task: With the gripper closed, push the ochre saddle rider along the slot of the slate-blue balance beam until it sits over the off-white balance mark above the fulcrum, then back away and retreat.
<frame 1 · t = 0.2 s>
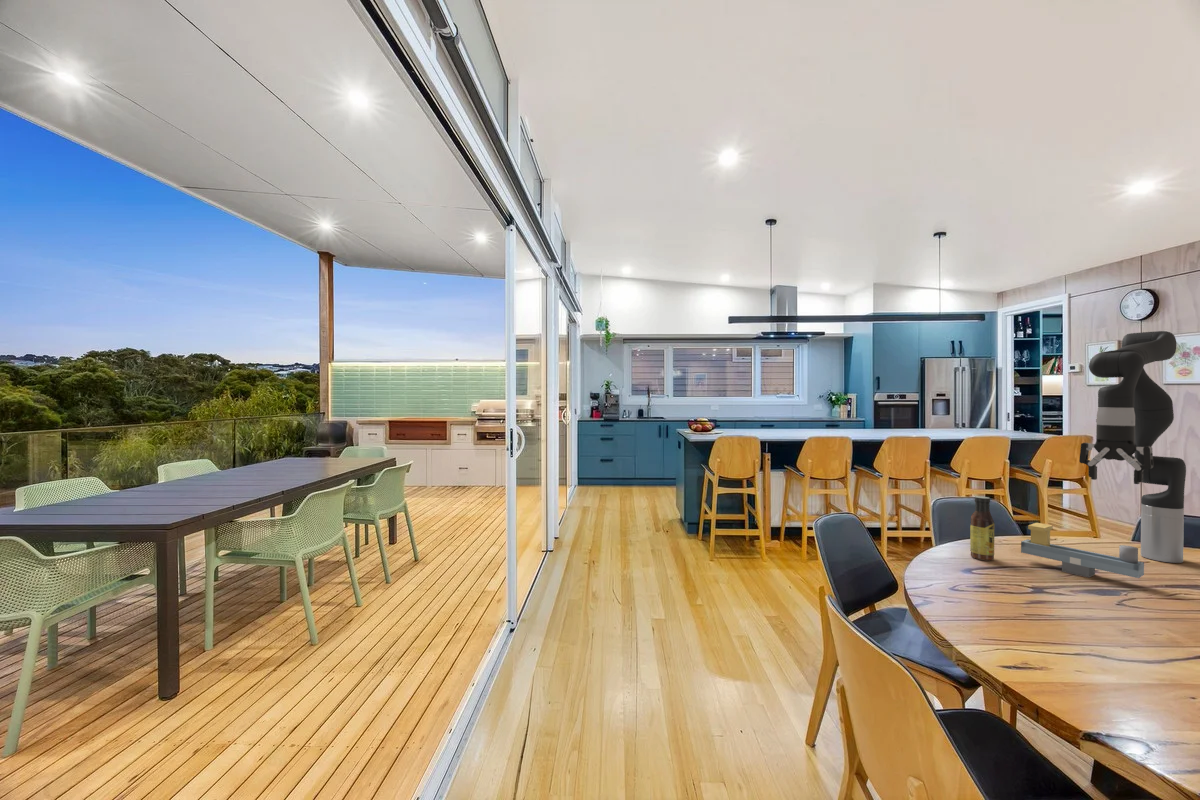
hand: (1114, 481, 140), 29 cm above the table, fingers open, 8 cm apart
sauce bottle: (982, 558, 162), on the table
beam: (1078, 572, 149), on the table
rider: (1040, 536, 157), point 9 cm above the table, slide at 0.0 cm
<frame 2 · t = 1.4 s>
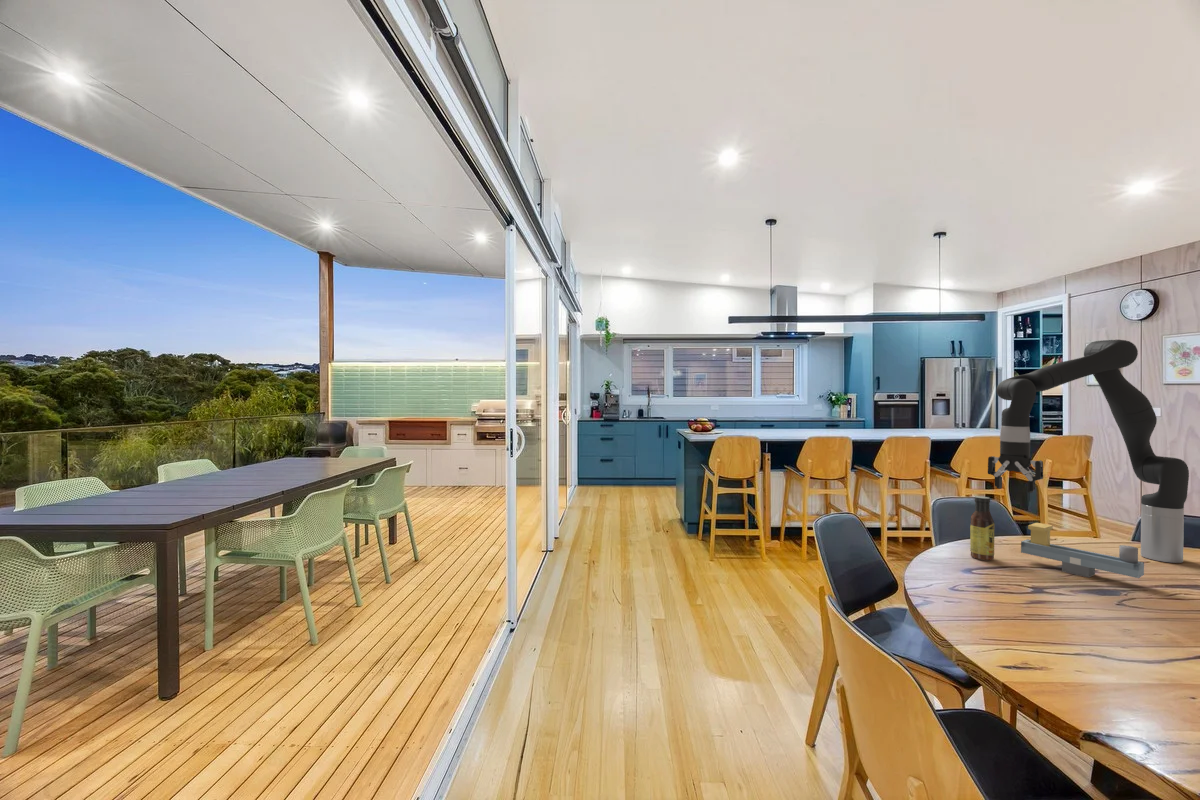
hand: (1014, 490, 162), 22 cm above the table, fingers open, 7 cm apart
nothing on the table moved.
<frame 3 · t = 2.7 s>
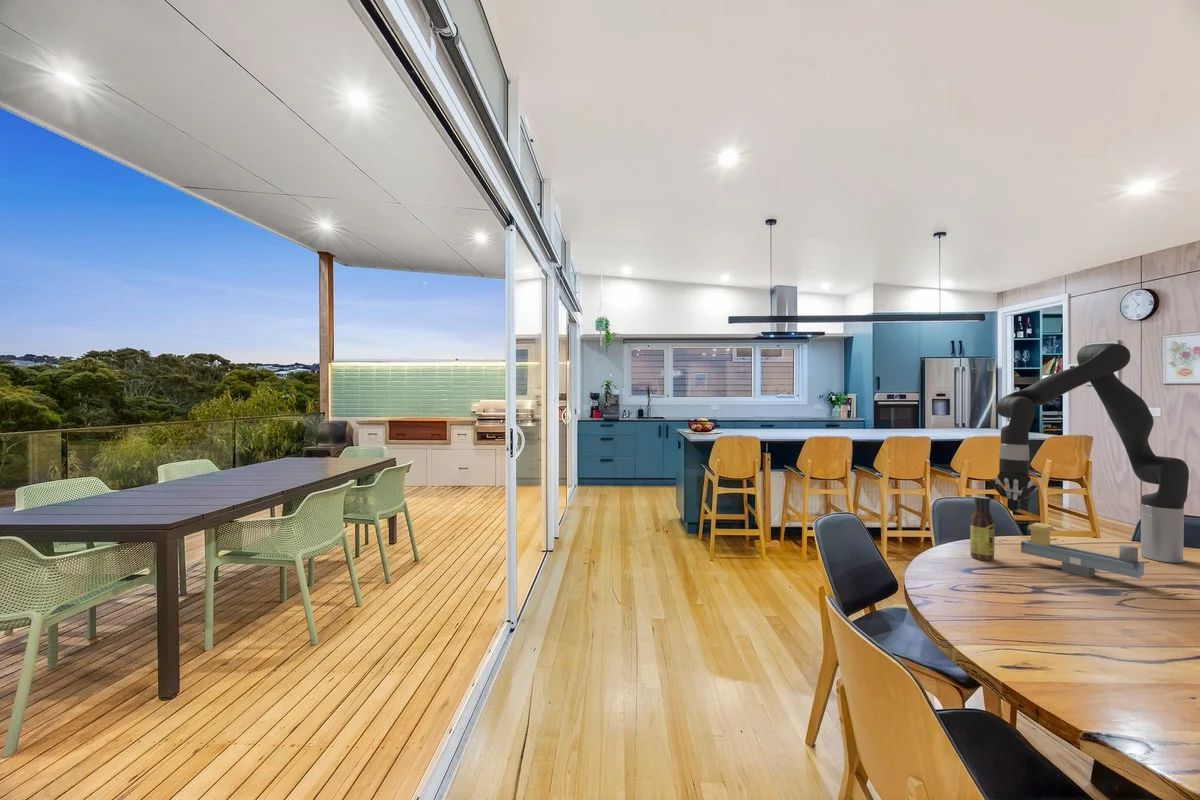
hand: (1013, 510, 163), 15 cm above the table, fingers closed
nothing on the table moved.
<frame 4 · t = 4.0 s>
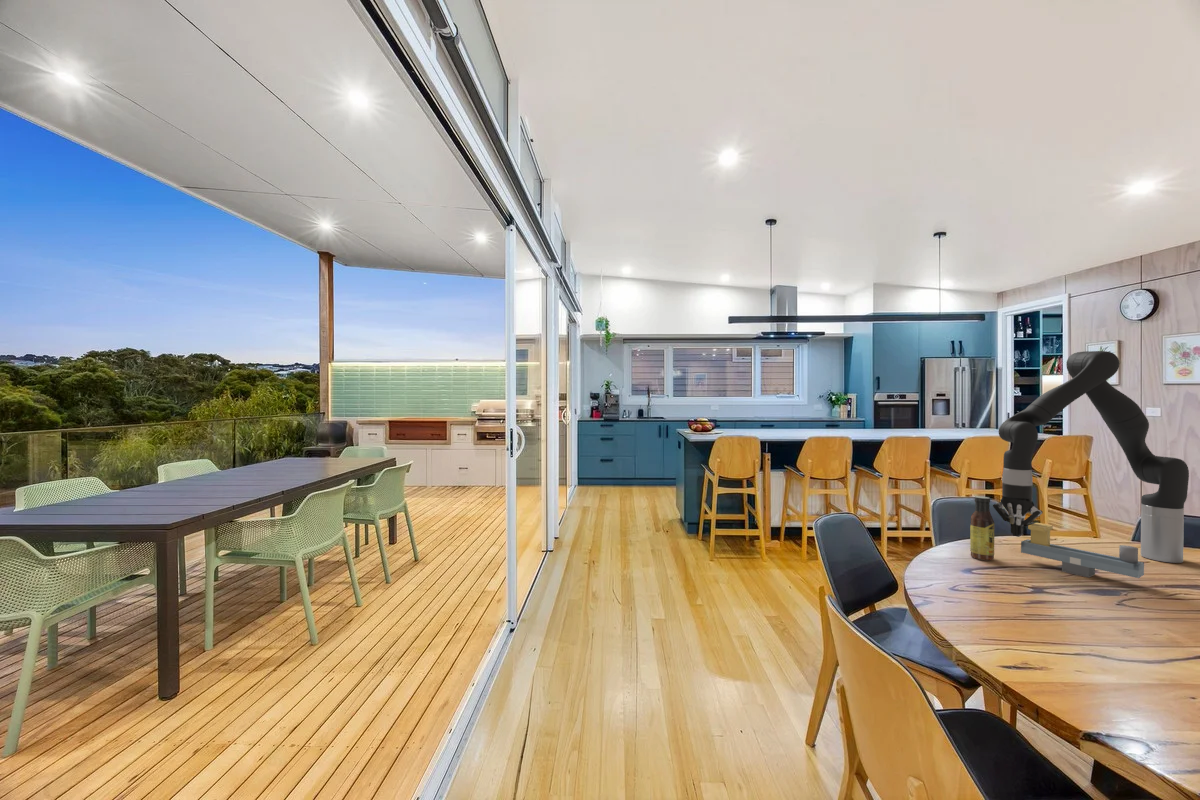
hand: (1016, 535, 162), 7 cm above the table, fingers closed
nothing on the table moved.
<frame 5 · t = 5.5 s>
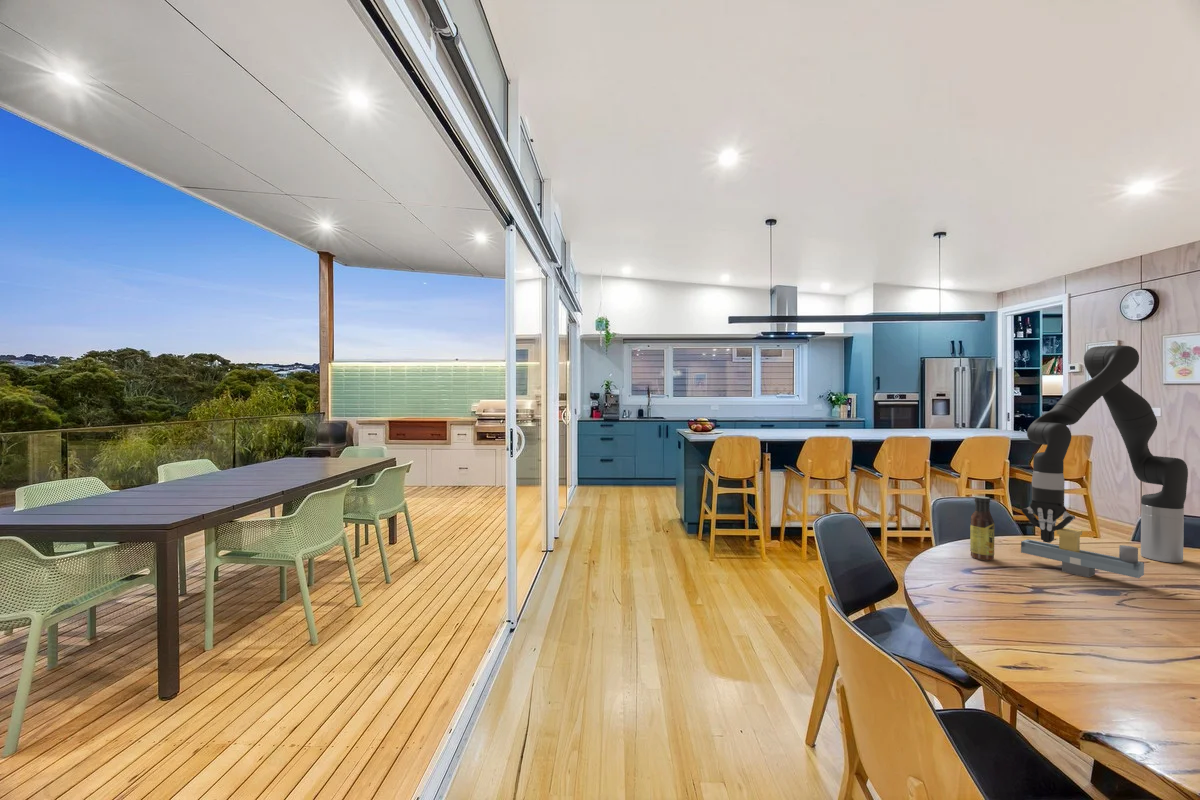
hand: (1047, 541, 155), 7 cm above the table, fingers closed
rider: (1069, 542, 151), point 9 cm above the table, slide at 6.9 cm, touching hand
everything else where it was.
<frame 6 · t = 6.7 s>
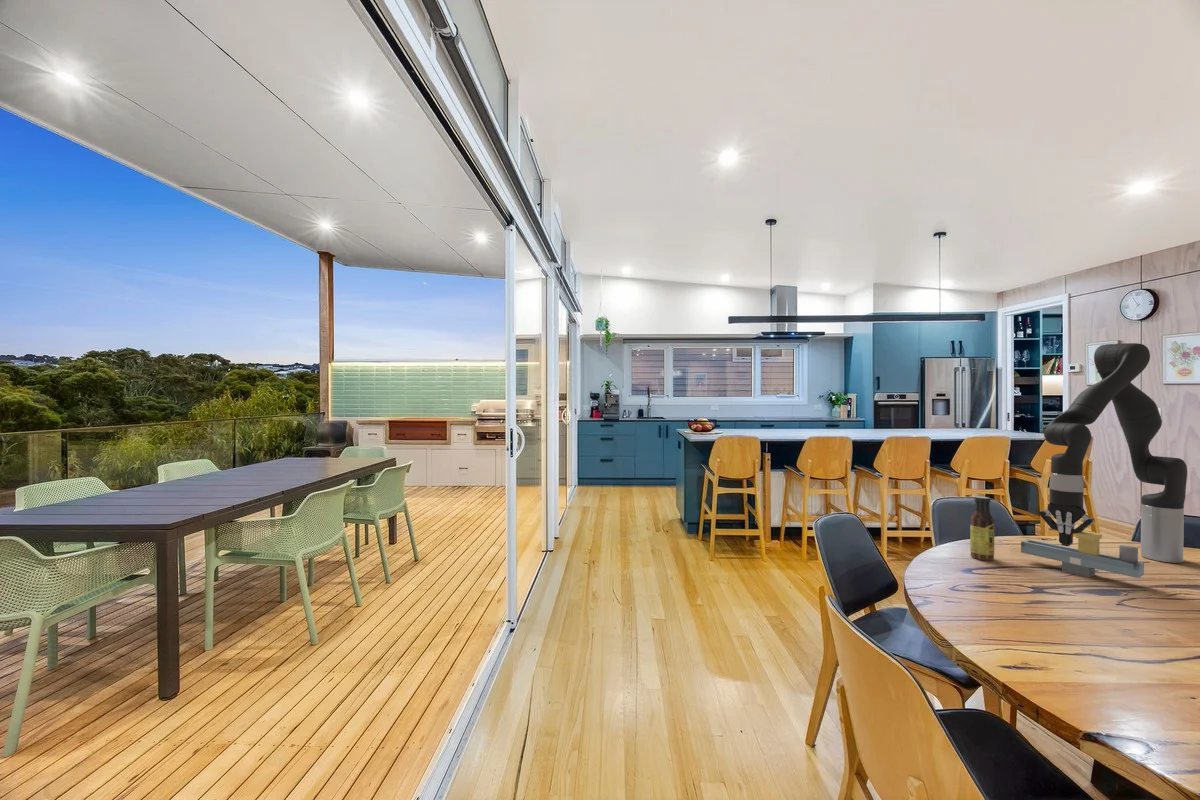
hand: (1065, 545, 152), 7 cm above the table, fingers closed
rider: (1088, 546, 147), point 9 cm above the table, slide at 11.2 cm, touching hand
everything else where it was.
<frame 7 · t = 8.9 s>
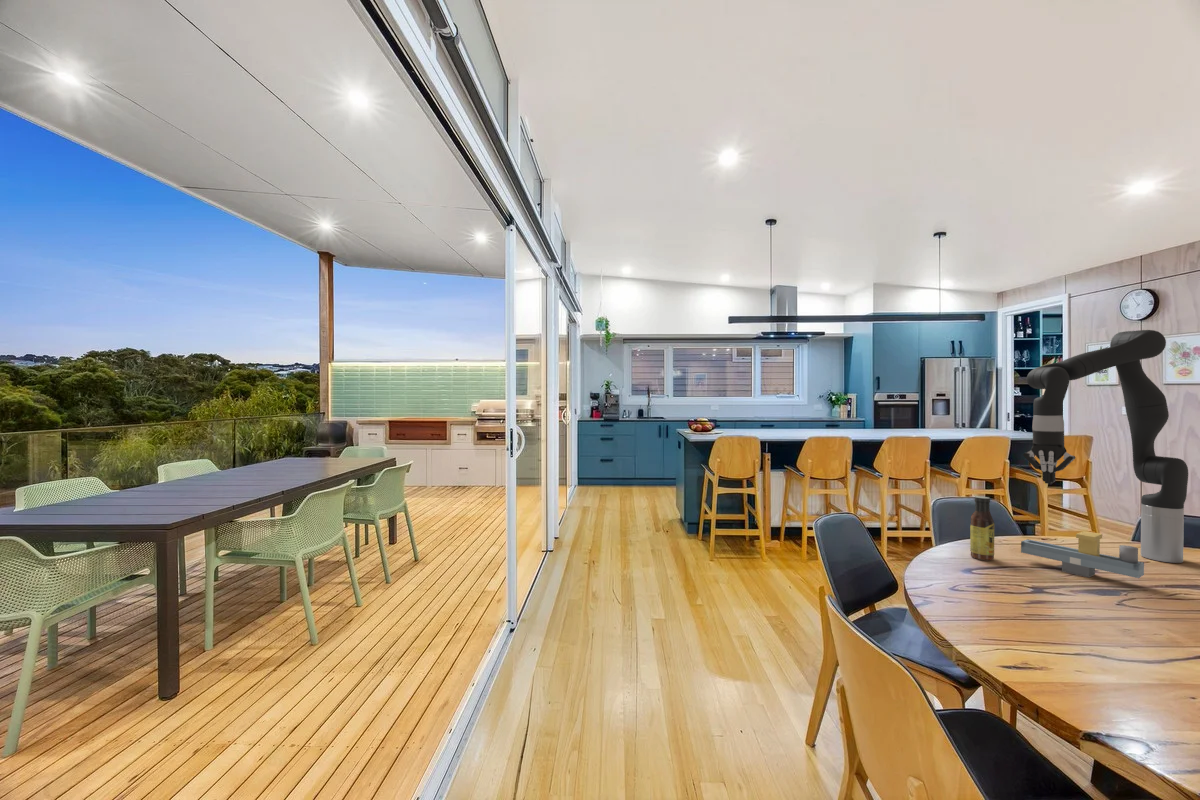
hand: (1048, 483, 160), 25 cm above the table, fingers closed
rider: (1088, 546, 147), point 9 cm above the table, slide at 11.3 cm
everything else where it was.
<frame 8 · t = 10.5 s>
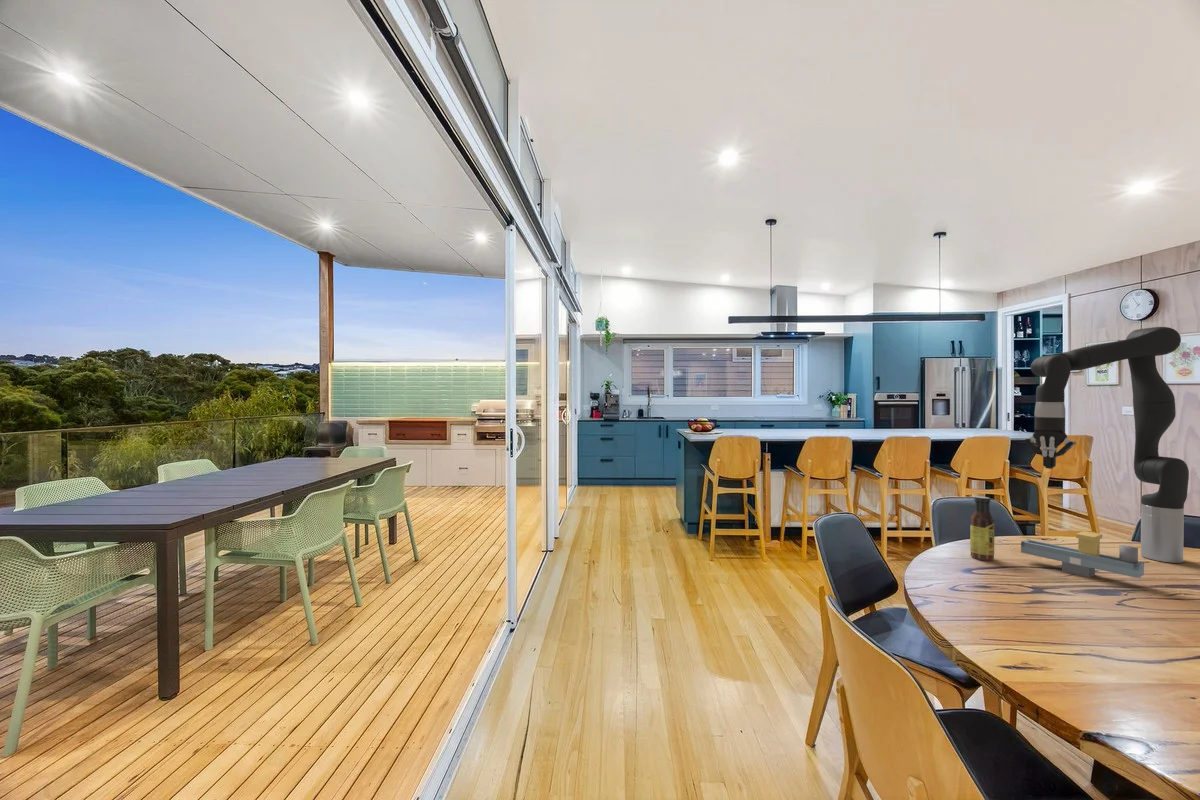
hand: (1049, 468, 165), 29 cm above the table, fingers closed
nothing on the table moved.
at the end: rider slide at 11.3 cm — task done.
